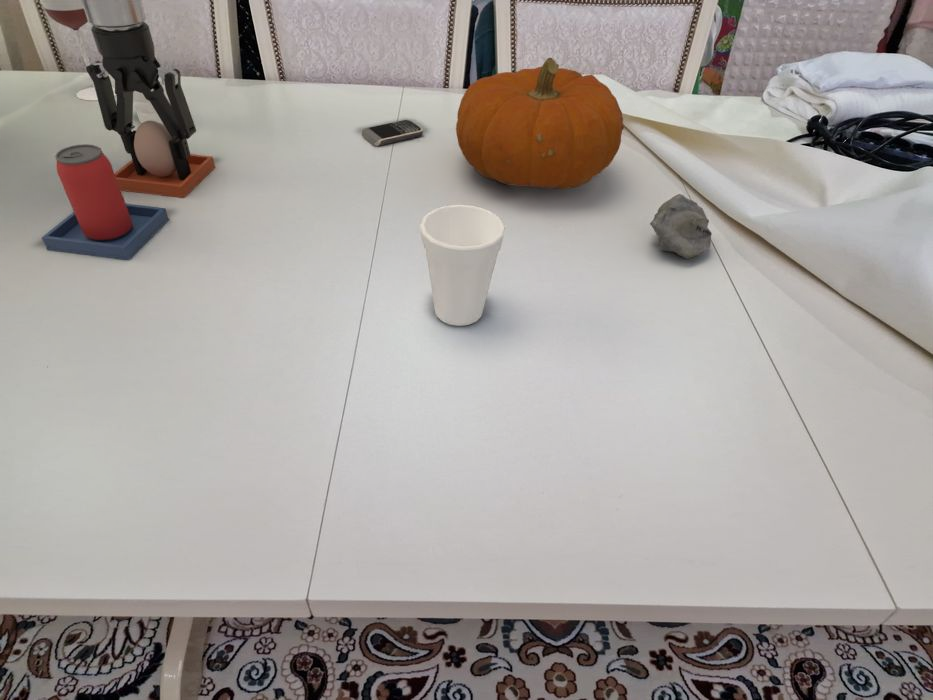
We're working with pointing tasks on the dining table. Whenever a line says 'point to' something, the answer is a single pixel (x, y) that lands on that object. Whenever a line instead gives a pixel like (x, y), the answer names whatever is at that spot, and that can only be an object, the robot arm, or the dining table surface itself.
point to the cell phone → (392, 132)
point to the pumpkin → (539, 127)
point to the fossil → (682, 227)
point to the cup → (461, 259)
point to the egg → (154, 149)
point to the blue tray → (143, 228)
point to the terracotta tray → (165, 178)
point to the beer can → (93, 192)
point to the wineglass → (69, 11)
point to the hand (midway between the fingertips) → (164, 173)
